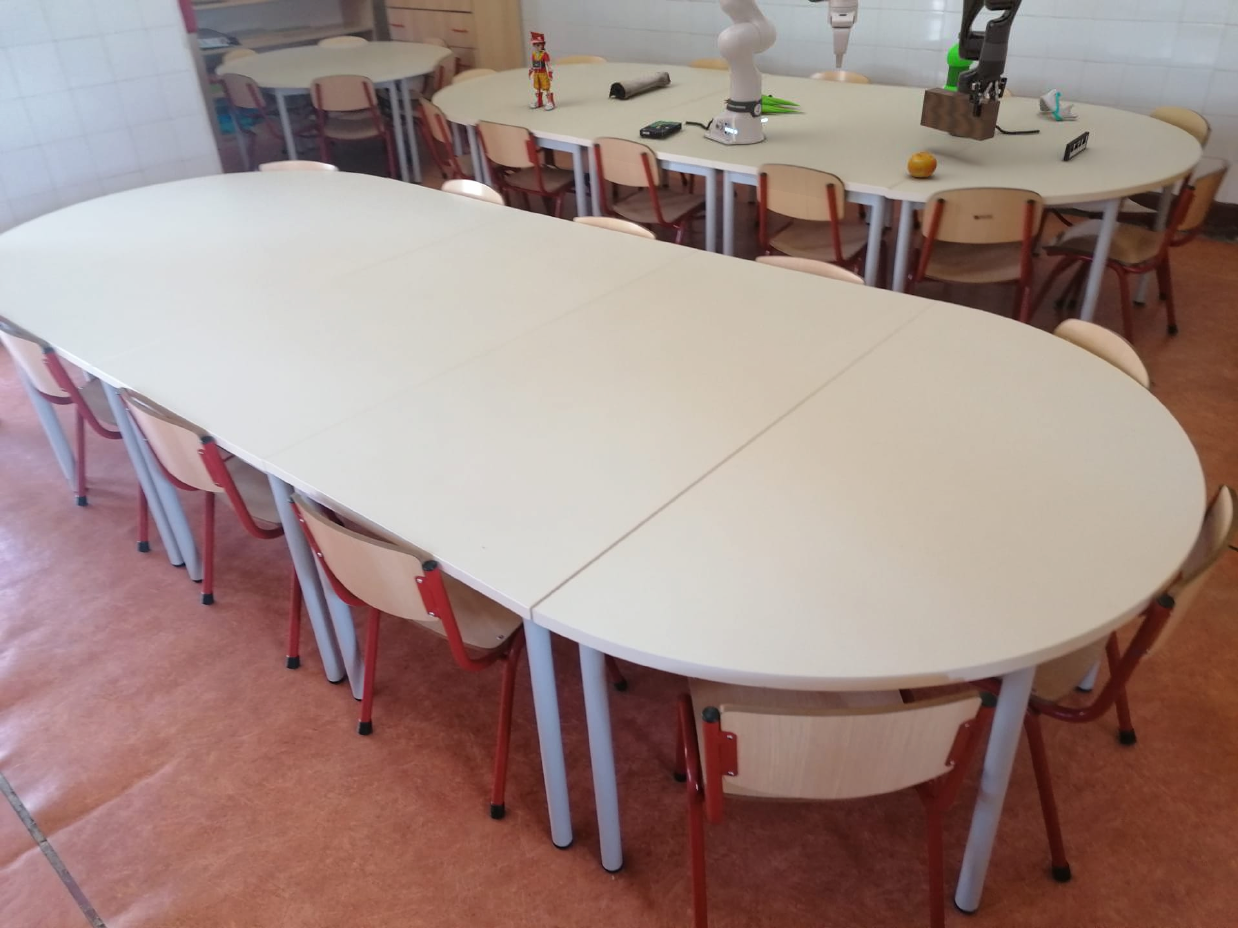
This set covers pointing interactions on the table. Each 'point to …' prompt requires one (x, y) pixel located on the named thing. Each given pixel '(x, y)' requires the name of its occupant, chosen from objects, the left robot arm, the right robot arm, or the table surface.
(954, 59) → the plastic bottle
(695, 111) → the table surface
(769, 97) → the toy
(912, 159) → the fruit
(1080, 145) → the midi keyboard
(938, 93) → the box
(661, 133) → the disk drive
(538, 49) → the toy
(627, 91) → the rolled mat
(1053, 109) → the white and teal piece
